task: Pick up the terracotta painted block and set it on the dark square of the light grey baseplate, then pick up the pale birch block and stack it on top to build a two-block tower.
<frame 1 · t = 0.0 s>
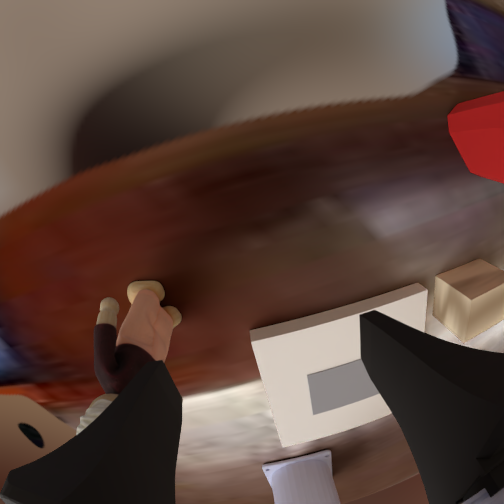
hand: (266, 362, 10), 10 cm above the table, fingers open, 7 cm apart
grandmother figurine: (158, 310, 20), on the table
birch brick: (457, 286, 22), on the table
french fries: (467, 138, 18), on the table
tower plate: (345, 373, 23), on the table
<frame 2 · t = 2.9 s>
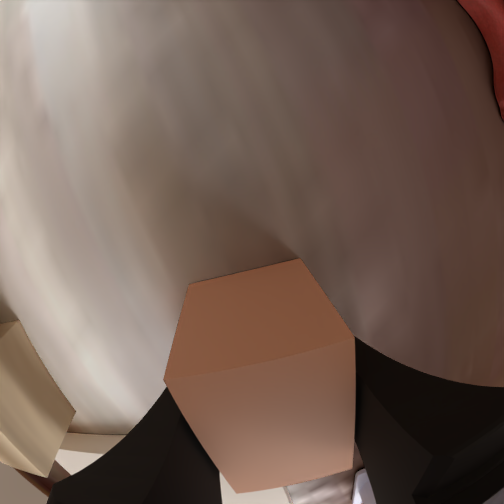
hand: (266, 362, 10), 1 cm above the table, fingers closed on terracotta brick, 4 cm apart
terracotta brick: (261, 340, 11), on the table, touching gripper
birch brick: (25, 370, 11), on the table
tower plate: (183, 488, 15), on the table
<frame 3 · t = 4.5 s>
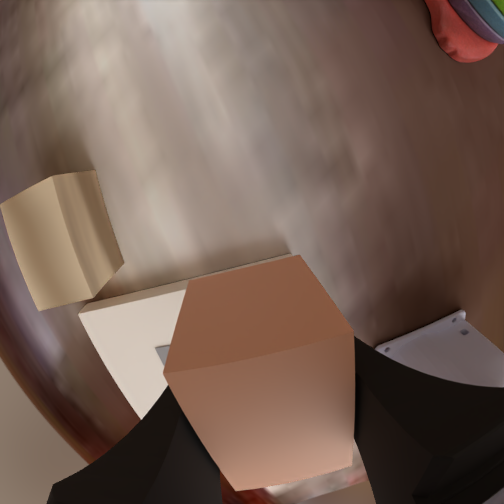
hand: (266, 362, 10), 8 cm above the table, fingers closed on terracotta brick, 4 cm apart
terracotta brick: (261, 337, 11), point 7 cm above the table, touching gripper
stacking bear: (453, 7, 13), on the table
birch brick: (83, 225, 16), on the table
tower plate: (212, 367, 20), on the table
when the fingers open (4 cm above the table, at t = 6.2 s): terracotta brick stays where it is, resting on tower plate.
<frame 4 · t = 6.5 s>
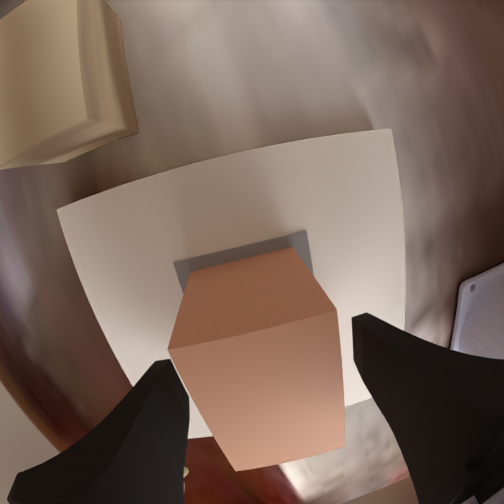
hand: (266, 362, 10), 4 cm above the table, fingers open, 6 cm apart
terracotta brick: (258, 325, 12), point 2 cm above the table, touching tower plate
birch brick: (88, 87, 10), on the table
tower plate: (256, 309, 14), on the table
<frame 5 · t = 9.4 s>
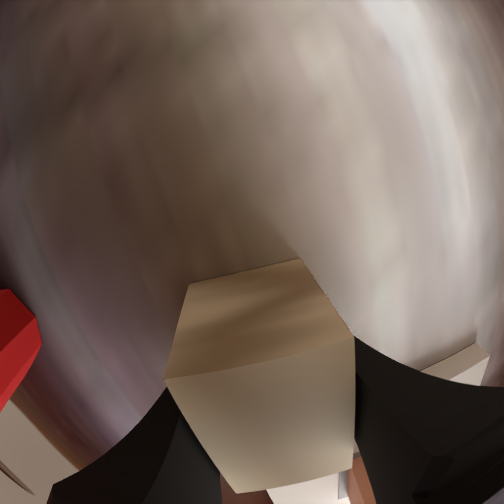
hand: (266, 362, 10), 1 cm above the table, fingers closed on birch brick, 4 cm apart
terracotta brick: (377, 469, 13), point 2 cm above the table, touching tower plate
birch brick: (261, 340, 11), on the table, touching gripper
french fries: (8, 338, 11), on the table
tower plate: (369, 452, 15), on the table
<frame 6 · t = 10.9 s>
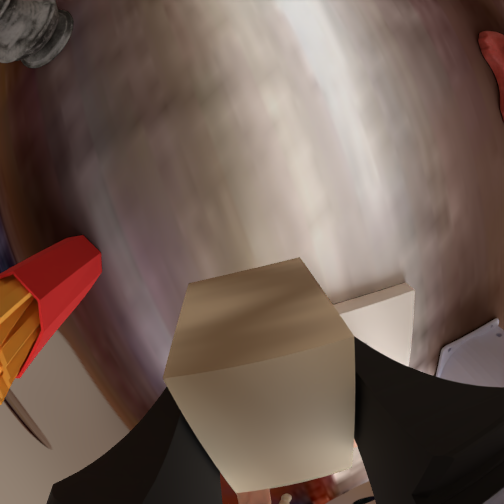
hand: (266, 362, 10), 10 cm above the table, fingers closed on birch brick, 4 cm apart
grandmother figurine: (252, 464, 28), on the table
birch brick: (261, 339, 11), point 9 cm above the table, touching gripper
french fries: (72, 274, 19), on the table
tower plate: (332, 373, 23), on the table
grey stone statuette: (46, 38, 13), on the table
when the fingers open (9 cm above the table, at t = 12.4 s): birch brick stays where it is, resting on terracotta brick.
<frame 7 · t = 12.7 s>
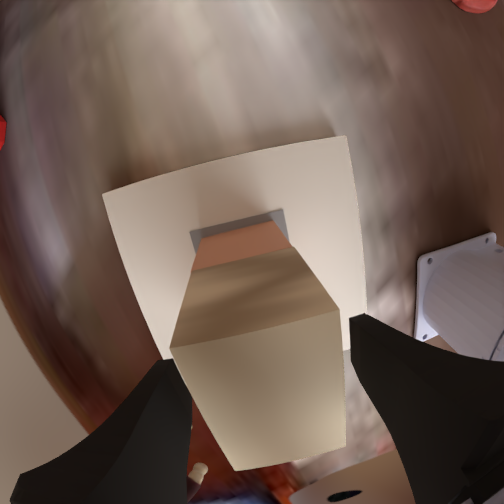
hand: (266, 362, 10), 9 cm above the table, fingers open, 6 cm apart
terracotta brick: (250, 279, 17), point 2 cm above the table, touching birch brick, tower plate
grandmother figurine: (173, 422, 23), on the table
birch brick: (259, 324, 12), point 7 cm above the table, touching terracotta brick
tower plate: (248, 270, 18), on the table
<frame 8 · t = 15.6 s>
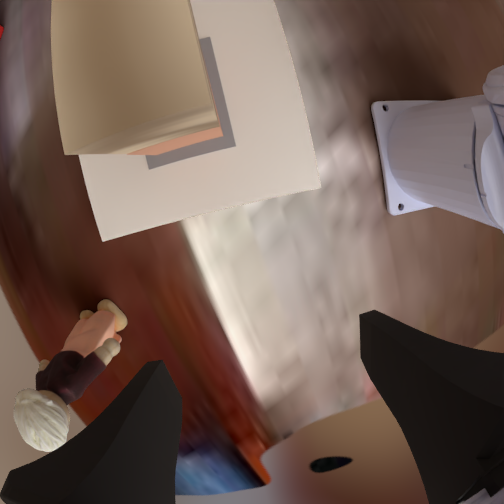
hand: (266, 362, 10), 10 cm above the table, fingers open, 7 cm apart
terracotta brick: (177, 97, 15), point 2 cm above the table, touching birch brick, tower plate
grandmother figurine: (107, 316, 21), on the table
birch brick: (157, 74, 10), point 7 cm above the table, touching terracotta brick
tower plate: (182, 104, 16), on the table
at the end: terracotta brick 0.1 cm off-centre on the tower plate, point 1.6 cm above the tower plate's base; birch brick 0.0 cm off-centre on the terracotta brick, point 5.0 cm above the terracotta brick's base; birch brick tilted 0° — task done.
